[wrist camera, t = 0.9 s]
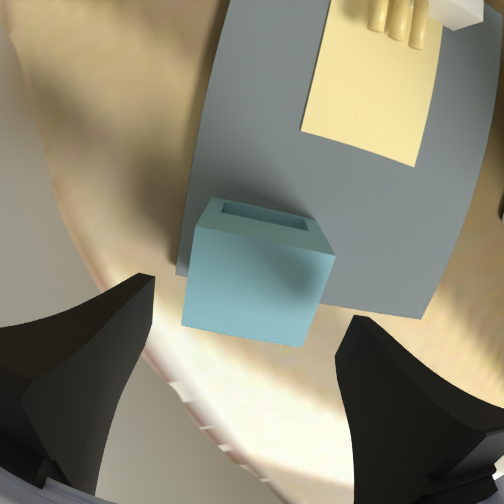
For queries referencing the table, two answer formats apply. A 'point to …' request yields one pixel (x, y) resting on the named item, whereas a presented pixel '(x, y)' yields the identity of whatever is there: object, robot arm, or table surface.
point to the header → (423, 17)
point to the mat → (349, 138)
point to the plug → (256, 273)
